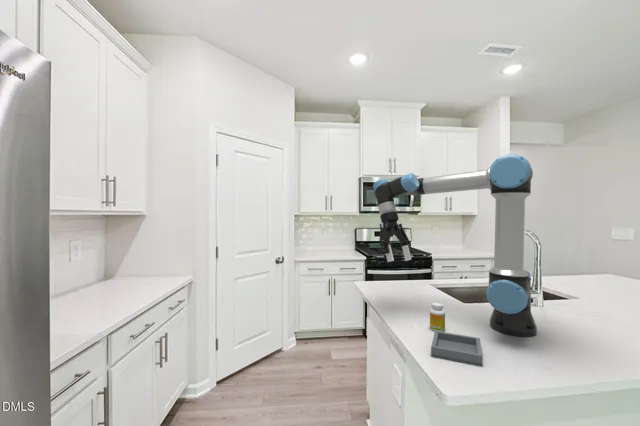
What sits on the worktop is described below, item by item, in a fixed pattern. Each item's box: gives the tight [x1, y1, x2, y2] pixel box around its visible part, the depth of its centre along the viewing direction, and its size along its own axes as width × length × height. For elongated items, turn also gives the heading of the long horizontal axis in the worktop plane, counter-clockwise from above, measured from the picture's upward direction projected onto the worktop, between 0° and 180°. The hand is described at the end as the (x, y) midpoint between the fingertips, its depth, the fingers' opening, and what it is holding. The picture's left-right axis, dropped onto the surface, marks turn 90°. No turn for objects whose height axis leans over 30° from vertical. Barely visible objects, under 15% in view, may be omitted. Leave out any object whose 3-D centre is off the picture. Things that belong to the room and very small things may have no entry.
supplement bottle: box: [429, 302, 446, 332], centre depth 113 cm, size 5×5×10 cm
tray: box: [430, 331, 483, 367], centre depth 95 cm, size 14×14×3 cm
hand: (400, 260), depth 124 cm, fingers open, 13 cm apart
